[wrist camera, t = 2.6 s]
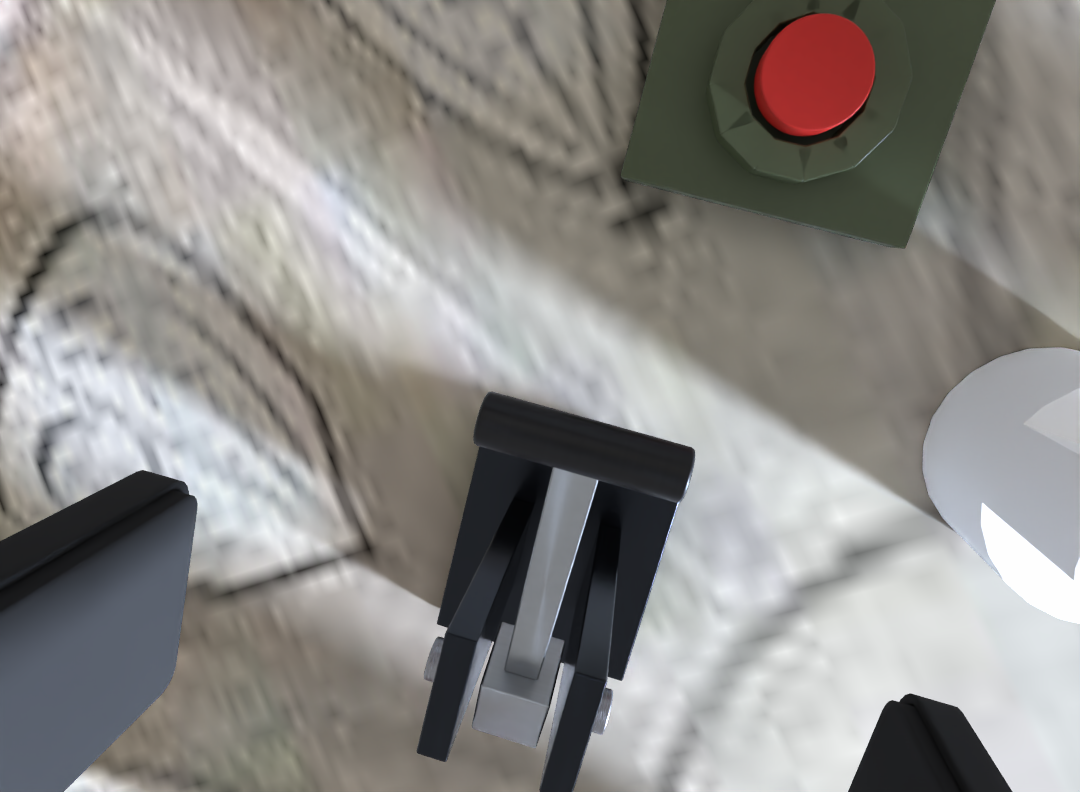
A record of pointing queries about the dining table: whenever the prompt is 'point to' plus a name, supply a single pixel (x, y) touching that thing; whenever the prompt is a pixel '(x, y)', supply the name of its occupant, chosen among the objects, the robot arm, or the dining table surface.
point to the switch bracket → (585, 613)
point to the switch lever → (558, 541)
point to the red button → (814, 75)
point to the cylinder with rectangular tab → (1015, 472)
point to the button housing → (813, 161)
